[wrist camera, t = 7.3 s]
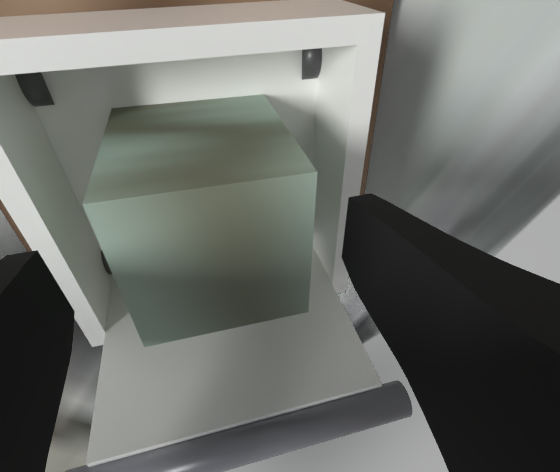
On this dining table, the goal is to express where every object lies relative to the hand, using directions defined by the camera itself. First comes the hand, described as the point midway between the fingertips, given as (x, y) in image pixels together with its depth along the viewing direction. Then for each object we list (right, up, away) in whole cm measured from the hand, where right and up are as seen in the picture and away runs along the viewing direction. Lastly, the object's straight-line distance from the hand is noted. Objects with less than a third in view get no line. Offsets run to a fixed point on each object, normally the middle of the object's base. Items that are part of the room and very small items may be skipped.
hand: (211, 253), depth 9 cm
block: (-1, +3, +3) cm, 4 cm away
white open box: (-1, +4, +5) cm, 6 cm away
